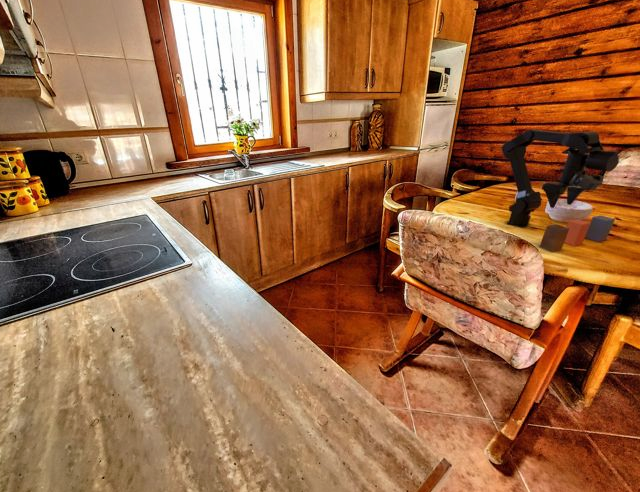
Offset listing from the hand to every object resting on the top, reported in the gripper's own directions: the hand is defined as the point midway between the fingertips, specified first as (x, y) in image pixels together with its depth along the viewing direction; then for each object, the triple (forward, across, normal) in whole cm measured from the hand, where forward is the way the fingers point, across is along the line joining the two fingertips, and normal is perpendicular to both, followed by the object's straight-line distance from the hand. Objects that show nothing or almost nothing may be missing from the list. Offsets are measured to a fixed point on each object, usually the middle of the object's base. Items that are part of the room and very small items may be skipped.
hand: (560, 206), depth 111 cm
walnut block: (+13, -12, -8) cm, 19 cm away
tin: (+13, +25, +31) cm, 42 cm away
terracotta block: (+13, 0, -8) cm, 15 cm away
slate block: (+13, +12, -8) cm, 19 cm away
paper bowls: (+13, +24, +10) cm, 29 cm away
